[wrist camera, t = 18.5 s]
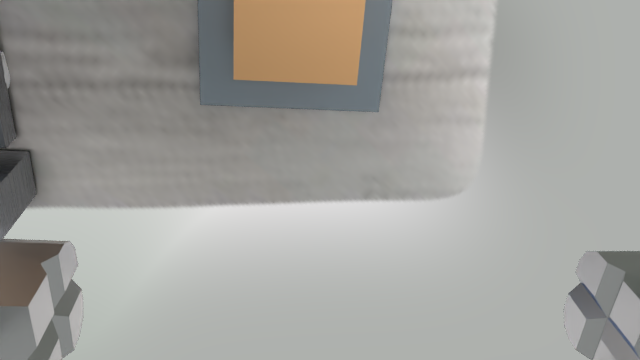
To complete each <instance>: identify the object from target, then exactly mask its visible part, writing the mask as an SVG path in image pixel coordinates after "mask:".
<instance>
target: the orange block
mask: <svg viewBox="0 0 640 360" xmlns="http://www.w3.org/2000/svg"><path fill="white" fill-rule="evenodd" d="M365 2H366V0H234V77H233V80H252V81H274V82H295V83H317V84H338V85H357V79H358V69H359V60H360V50H361V41H362V31H363V21H364V12H365Z"/></svg>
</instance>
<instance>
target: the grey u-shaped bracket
mask: <svg viewBox="0 0 640 360" xmlns="http://www.w3.org/2000/svg"><path fill="white" fill-rule="evenodd" d="M15 138H16V134H15V128H14V123H13V117H12V112H11V106H10V101H9V95H8V90H7V84H6V83H5V78H4V68H3V63H2V57H1V52H0V148H6V147H7V146H8V145H9V144H10V143H11V142H12V141H13V140H14V139H15ZM35 196H36V189H35V183H34V178H33V172H32V166H31V160H30V155H29V151H0V240H1V239H3V238H4V236H5V235H6V234H7V232H8V231H9V230H10V229H11V227H12V225H13V224H14V223H15V222H16V221H17V219H18V218H19V217H20V215H21V214H22V213H23V211H24V210H25V209H26V207H27V206H28V205H29V203H30V202H31V201H32V199H33V198H34V197H35Z"/></svg>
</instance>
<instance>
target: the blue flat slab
mask: <svg viewBox="0 0 640 360" xmlns="http://www.w3.org/2000/svg"><path fill="white" fill-rule="evenodd" d="M0 52H1V57H2V63H3V68H4V78H5V83H6V84H7V89H8V88H9V86H10V74H9V70H8V66H7V63H6V59H5V56H4V53H3V52H2V51H1V50H0Z"/></svg>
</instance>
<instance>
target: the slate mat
mask: <svg viewBox="0 0 640 360" xmlns="http://www.w3.org/2000/svg"><path fill="white" fill-rule="evenodd" d="M391 8H392V0H366V2H365V12H364V21H363V31H362V41H361V50H360V60H359V69H358V79H357V85H338V84H317V83H295V82H274V81H252V80H233V77H234V0H198V28H199V67H200V105H220V106H244V107H267V108H291V109H315V110H339V111H363V112H379V105H380V97H381V88H382V80H383V72H384V64H385V56H386V48H387V40H388V32H389V24H390V16H391Z"/></svg>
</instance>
